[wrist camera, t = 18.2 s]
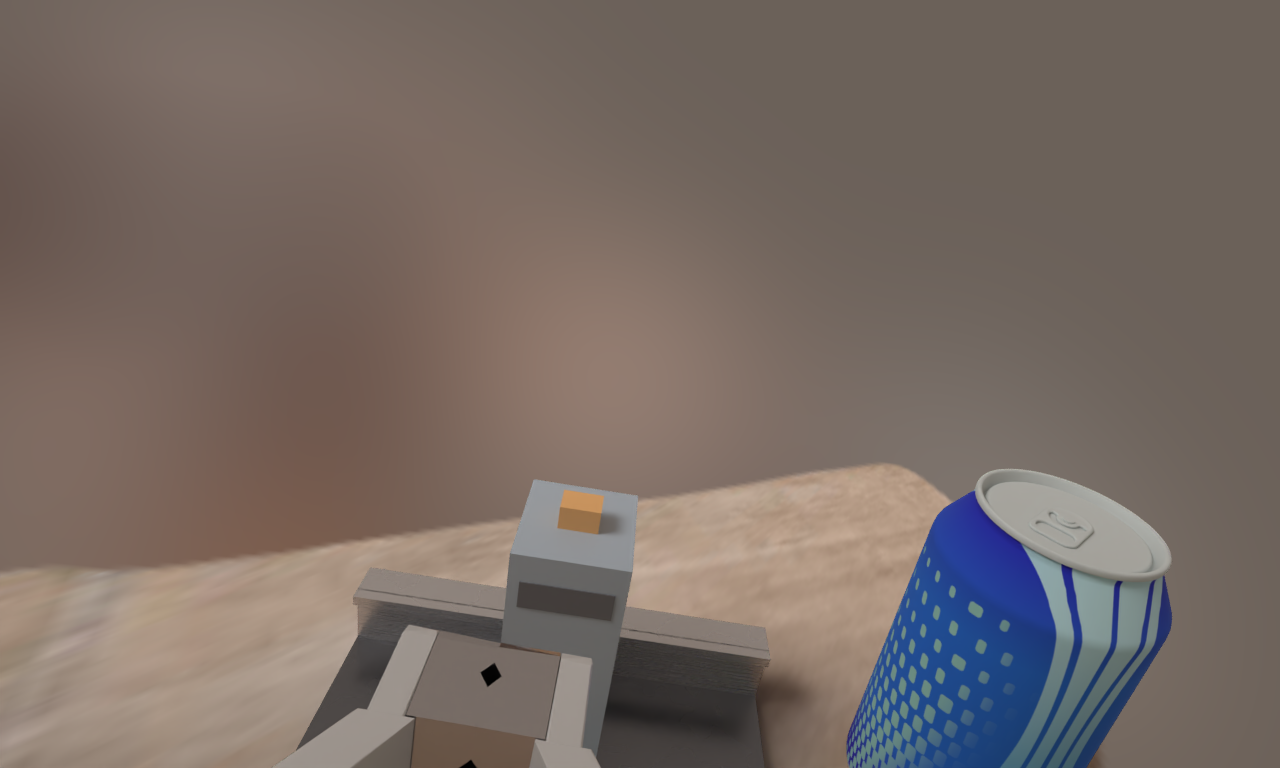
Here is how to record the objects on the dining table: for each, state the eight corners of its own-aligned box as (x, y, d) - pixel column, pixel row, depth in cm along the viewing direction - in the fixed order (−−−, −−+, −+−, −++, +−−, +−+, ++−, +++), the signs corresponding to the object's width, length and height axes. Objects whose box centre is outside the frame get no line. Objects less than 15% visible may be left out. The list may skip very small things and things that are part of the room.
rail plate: (239, 870, 26) (231, 801, 24) (382, 602, 39) (382, 546, 37) (781, 946, 26) (807, 884, 25) (745, 657, 39) (761, 604, 38)
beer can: (818, 714, 36) (918, 445, 30) (973, 728, 37) (1104, 468, 31) (872, 889, 29) (1023, 581, 22) (1065, 902, 30) (1266, 607, 23)
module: (488, 759, 30) (512, 532, 25) (512, 666, 35) (536, 458, 30) (592, 774, 31) (636, 551, 26) (602, 680, 35) (641, 475, 30)
